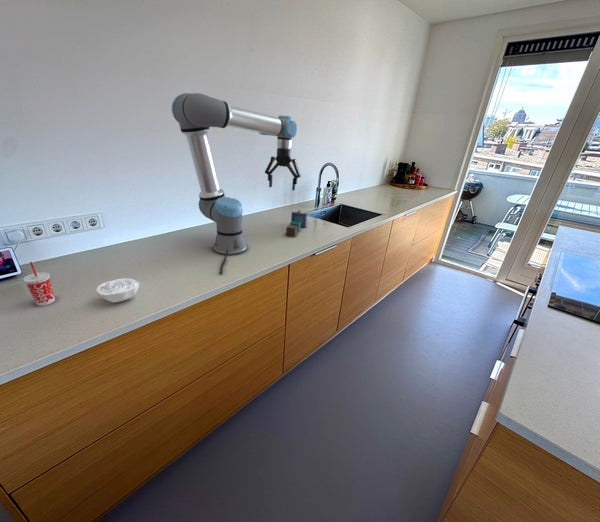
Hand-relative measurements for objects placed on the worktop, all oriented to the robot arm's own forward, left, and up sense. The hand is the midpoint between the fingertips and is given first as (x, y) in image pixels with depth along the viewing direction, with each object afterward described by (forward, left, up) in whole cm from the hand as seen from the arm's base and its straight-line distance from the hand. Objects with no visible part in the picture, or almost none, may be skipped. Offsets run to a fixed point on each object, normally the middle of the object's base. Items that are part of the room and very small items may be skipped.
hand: (281, 188), depth 161 cm
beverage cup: (-101, +46, -23) cm, 113 cm away
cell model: (-92, +26, -23) cm, 98 cm away
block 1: (-3, -10, -23) cm, 25 cm away
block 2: (-11, -10, -23) cm, 27 cm away
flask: (+4, -10, -23) cm, 25 cm away
